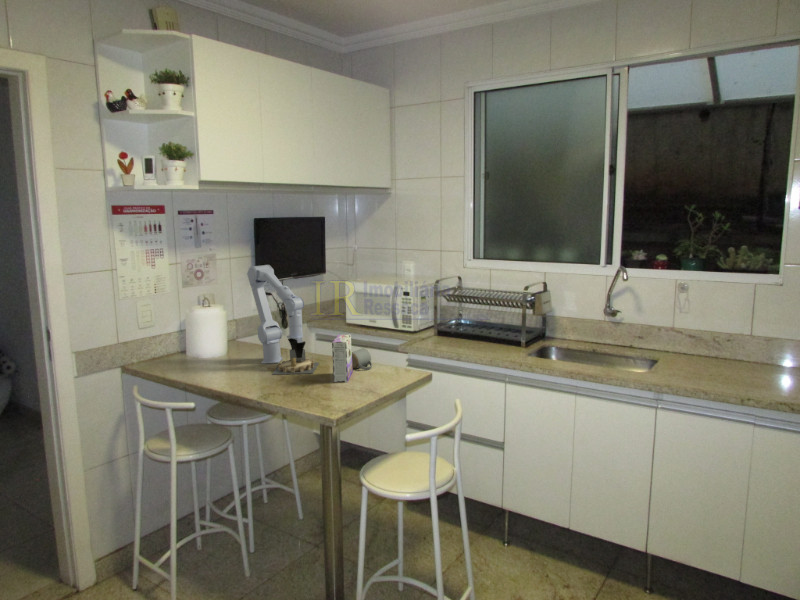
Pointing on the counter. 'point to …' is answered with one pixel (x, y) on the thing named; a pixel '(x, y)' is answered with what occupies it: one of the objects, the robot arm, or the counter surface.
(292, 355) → the banded gift box
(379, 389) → the counter surface
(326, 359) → the counter surface
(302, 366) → the sprocket
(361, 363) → the ceramic mug
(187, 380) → the counter surface
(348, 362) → the candy box
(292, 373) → the index plate
